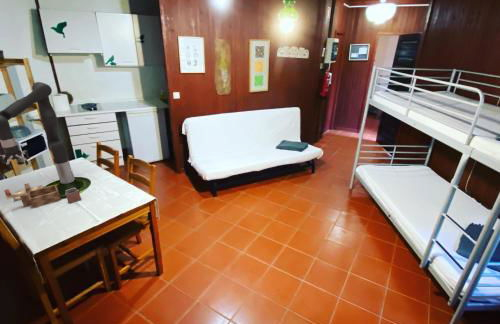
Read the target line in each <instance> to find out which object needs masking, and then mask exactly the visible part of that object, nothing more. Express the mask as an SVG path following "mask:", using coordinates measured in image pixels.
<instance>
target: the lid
mask: <svg viewBox="0 0 500 324" xmlns="http://www.w3.org/2000/svg"><path fill="white" fill-rule="evenodd" d="M23 185H24V189H20V190H17V191H14V193H18V192H22V193H23V194H25V193H28V192H29V191H33V190H37V189H41V188H43V186H44V185H43V184H41V185H36V186H33V187H31V186H30V183H27V182H26V183H24V184H23ZM20 199H21V198H20V196H19V197H15V200H19V201H21V200H20Z"/></svg>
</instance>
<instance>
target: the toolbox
mask: <svg viewBox="0 0 500 324" xmlns="http://www.w3.org/2000/svg"><path fill="white" fill-rule="evenodd" d="M20 198H21V200H20V201H21V203H22V205H23V207H24V208H27V207H31V209H35V208H38V207H42V206H45V205H49V204H52V203H56V202H59V201H61V200H62V198H61V195H60V193H59V189H58V186H57V185H56V184H53V185H49V186H44V188H41V189H37V190H33V191H29V192H28V193H25V194H23V196H20Z"/></svg>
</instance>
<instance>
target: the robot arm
mask: <svg viewBox="0 0 500 324" xmlns="http://www.w3.org/2000/svg"><path fill="white" fill-rule="evenodd" d="M52 92H53V90H52V86H50V85H49V84H47V83H45V82H41V81H36V82H34V83H33V84H32V85H31V92H30V93H28V94H27V95H25V96H24V97H22V98H20V99H17V100H15V101H14V102H12V103H11V104H9V105H8V106H6V107H5V108H4V109H3V110H0V144H1V148H2V149H3V151H4V153H5V154H0V162H1V164H2V165H6V166H7V167H8V169H10V170H12V169H13V168H12V166H11V163H10V162H11V160H13V161H14V160H18V159H21V160H23V161H24V163H25V166H28V165H29V161H28V160H29V159H31V158H30V155H29V153H28V151H27V150H26V149H24V150H23V151H21V150H20V147H19V145H18V142H17V140H16V138H15V137H14V134H13V132H12V130H11V129H12V128H11V125H10V122H9V121H10V120H11V119H13V118H17V117H18V116H19V115H21V114H22V113H24V112H25V111H26V110H27V109H29V108H30V107H32V106H33V105H34V104H36V103H37V107H38V112H39V116H40V121H41V124H42V127H43V129H44V133H45V136H46V141H47V142H46V143H47V149H48V150H49V151H50V152H51V153H52V156H53V163H54V166H55V170H56V172H57V176H58V179H59V182H60V183H61V184H64V185H66V184H71V183H73V182H75V181H76V179H75V175H74V173H73V170H72V167H71V164H70V160H69V153H68V149H67V147H66V144H64V143H63V142H62V141H61V139H60V136H59V121H58V116H57V114H56V113H57V112H56V111H55V109H54V107H53V106H52V103H51V101H50V96H51V95H52ZM22 154H23V155H25V156H26V157H25V156H23V155H22ZM5 158H7V160H6V161H5ZM74 180H75V181H74Z"/></svg>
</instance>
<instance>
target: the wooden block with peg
mask: <svg viewBox="0 0 500 324" xmlns="http://www.w3.org/2000/svg"><path fill="white" fill-rule="evenodd" d="M3 192H4V193H5V198H6V200H11V199H13V198H15V197H19V196H23V193H22V192H18V193H15V192H14V193H11V191H10V189H9V188H7V189H4V190H3Z"/></svg>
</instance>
